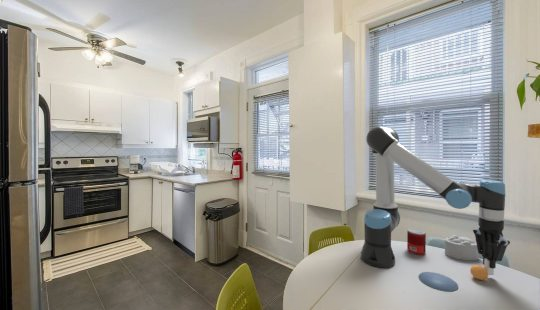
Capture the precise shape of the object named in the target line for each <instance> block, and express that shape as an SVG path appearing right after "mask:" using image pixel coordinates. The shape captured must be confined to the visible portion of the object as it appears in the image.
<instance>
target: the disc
mask: <svg viewBox="0 0 540 310" xmlns="http://www.w3.org/2000/svg"><path fill="white" fill-rule="evenodd" d="M418 279H419V281H420V282H422V283H423V284H424V285H426V286H427V287H430V288H431V289H435V290H438V291H442V292H454V291H458V289H459V284H458V283H457V282H456V281H455V280H454V279H452V278H451V277H448V276H447V275H444V274H441V273H438V272H433V271H423V272H420V273H419V274H418Z"/></svg>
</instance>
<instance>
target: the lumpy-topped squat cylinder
mask: <svg viewBox="0 0 540 310" xmlns="http://www.w3.org/2000/svg"><path fill="white" fill-rule="evenodd" d="M444 254H445V256H448V257H450V258H453V259H456V260H463V261H475V260H476V261H477V260H479V253H478V249H477V243H476V241H474V240H473V239H471V238H468V237H467V236H458V235H457V234H451V235H450V236H448V237H446V238H445V239H444Z"/></svg>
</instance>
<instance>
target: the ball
mask: <svg viewBox="0 0 540 310" xmlns="http://www.w3.org/2000/svg"><path fill="white" fill-rule="evenodd" d="M469 271H470V274H471V275H472V277H473V278H474V279H476V280H480V281H484V280H487V279H488V277H489V275H488V272H487V270H486V269H485V268H484V266H482V265H479V264H475V265H472V266H471V267H470V269H469Z"/></svg>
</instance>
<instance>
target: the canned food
mask: <svg viewBox="0 0 540 310" xmlns="http://www.w3.org/2000/svg"><path fill="white" fill-rule="evenodd" d="M406 235H407V237H406V240H407V241H406V242H407V246H406V247H407V251H408V252H409V253H411V254H413V255H417V256H418V255H419V256H423V255H426V247H427V245H426V243H427V242H426V240H427V237H426V236H427V233H426V231H425V230H423V229H420V228H415V227H414V228H412V227H411V228H407V233H406Z"/></svg>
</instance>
